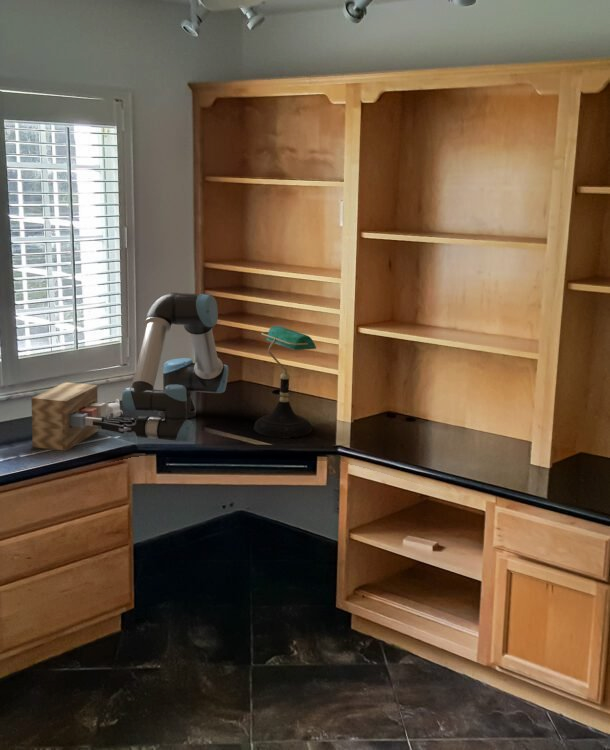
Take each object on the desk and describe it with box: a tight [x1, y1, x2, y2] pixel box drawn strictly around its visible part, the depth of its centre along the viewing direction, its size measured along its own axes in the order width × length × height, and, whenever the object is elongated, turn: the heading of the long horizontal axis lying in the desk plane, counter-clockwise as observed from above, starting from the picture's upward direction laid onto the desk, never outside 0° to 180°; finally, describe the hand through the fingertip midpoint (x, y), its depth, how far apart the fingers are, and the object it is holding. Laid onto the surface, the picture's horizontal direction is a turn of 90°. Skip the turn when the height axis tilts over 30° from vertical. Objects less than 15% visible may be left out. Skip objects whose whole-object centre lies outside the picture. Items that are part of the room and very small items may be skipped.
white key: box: [89, 402, 107, 418], centre depth 327 cm, size 12×4×4 cm, turn 79°
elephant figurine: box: [101, 398, 124, 419], centre depth 353 cm, size 8×10×7 cm
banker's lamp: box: [253, 325, 317, 439], centre depth 343 cm, size 26×23×40 cm
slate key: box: [69, 413, 88, 429], centre depth 312 cm, size 12×4×4 cm, turn 79°
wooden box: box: [31, 381, 99, 452], centre depth 321 cm, size 13×26×18 cm, turn 169°
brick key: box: [79, 408, 97, 418], centre depth 320 cm, size 12×4×4 cm, turn 79°
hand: (85, 421), depth 311 cm, fingers closed
